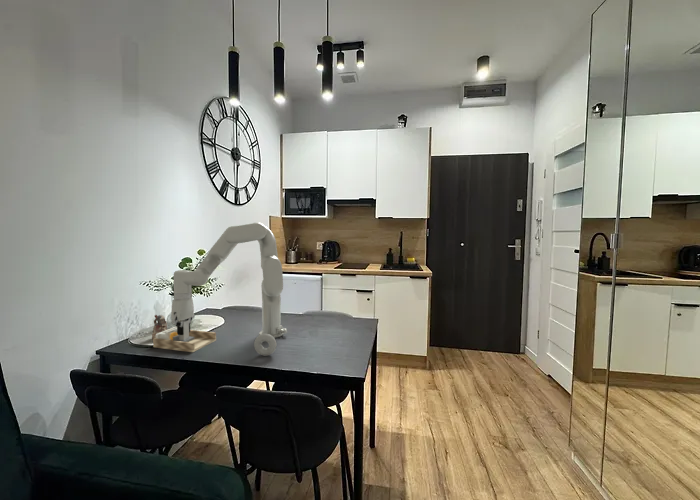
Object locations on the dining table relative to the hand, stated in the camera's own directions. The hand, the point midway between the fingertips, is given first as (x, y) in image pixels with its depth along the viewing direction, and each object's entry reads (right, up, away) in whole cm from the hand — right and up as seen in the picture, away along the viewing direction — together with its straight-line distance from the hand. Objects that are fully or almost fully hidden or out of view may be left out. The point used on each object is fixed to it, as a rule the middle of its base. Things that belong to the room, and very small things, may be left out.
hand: (183, 332), depth 156 cm
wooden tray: (+1, -5, 0) cm, 5 cm away
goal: (-7, -4, +2) cm, 8 cm away
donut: (+43, -7, -13) cm, 45 cm away
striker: (0, -4, 0) cm, 4 cm away
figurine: (-16, -5, +8) cm, 18 cm away
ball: (-5, -2, +2) cm, 6 cm away
